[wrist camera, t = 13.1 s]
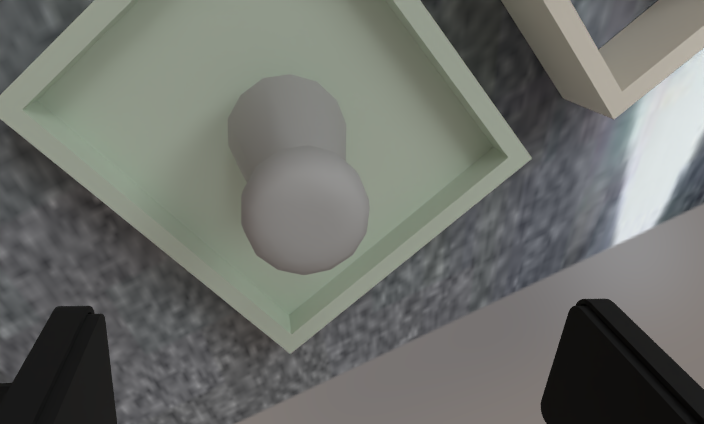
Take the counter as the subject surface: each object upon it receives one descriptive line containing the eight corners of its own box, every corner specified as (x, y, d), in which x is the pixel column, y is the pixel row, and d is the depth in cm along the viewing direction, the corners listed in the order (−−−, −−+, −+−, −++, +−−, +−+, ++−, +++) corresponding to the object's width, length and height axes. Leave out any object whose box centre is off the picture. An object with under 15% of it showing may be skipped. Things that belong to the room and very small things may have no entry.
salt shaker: (205, 126, 28) (173, 237, 16) (278, 41, 27) (299, 97, 15) (290, 193, 30) (315, 332, 19) (360, 118, 29) (433, 216, 18)
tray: (281, -174, 24) (284, -191, 22) (509, 142, 33) (532, 158, 30) (13, 94, 27) (-13, 108, 24) (287, 324, 35) (290, 353, 32)
